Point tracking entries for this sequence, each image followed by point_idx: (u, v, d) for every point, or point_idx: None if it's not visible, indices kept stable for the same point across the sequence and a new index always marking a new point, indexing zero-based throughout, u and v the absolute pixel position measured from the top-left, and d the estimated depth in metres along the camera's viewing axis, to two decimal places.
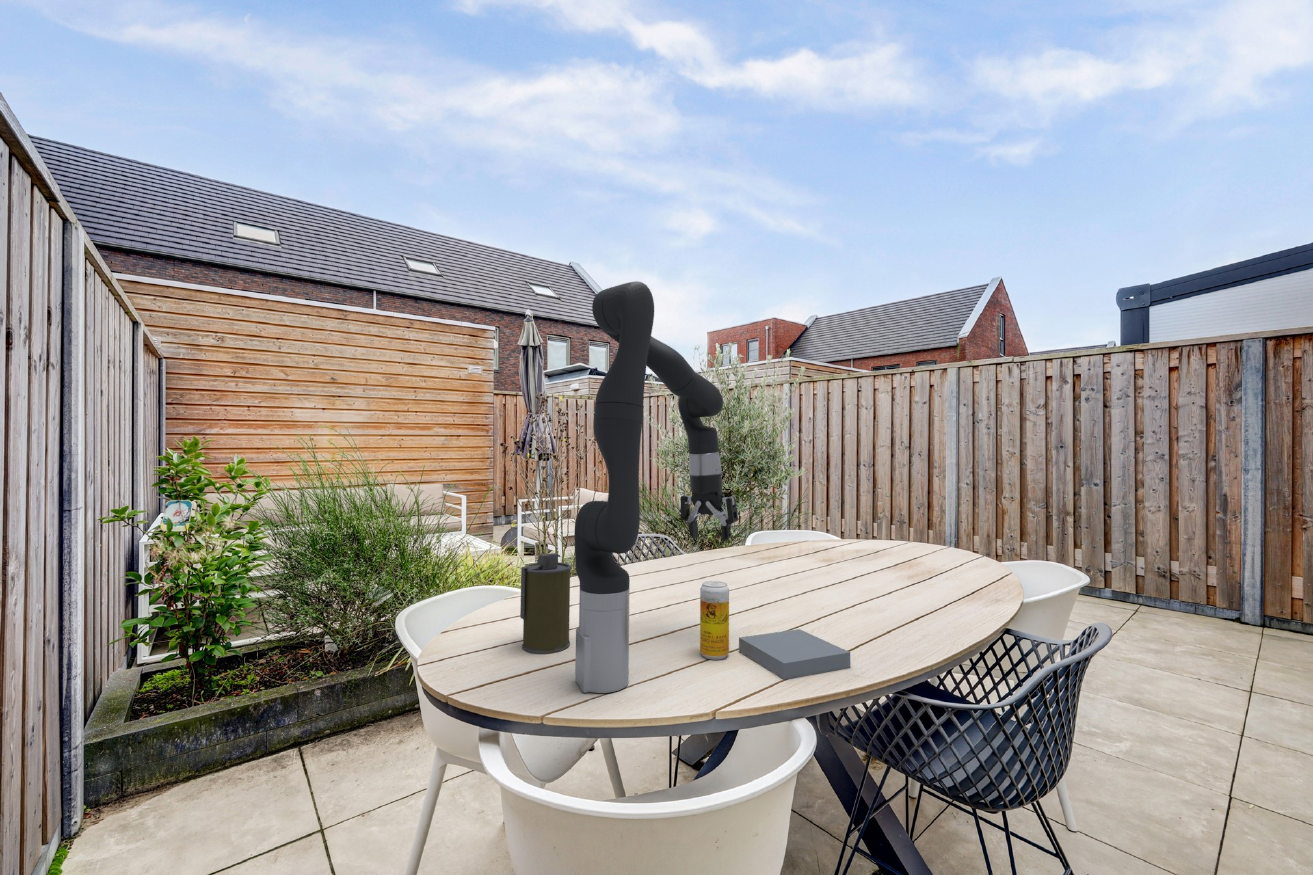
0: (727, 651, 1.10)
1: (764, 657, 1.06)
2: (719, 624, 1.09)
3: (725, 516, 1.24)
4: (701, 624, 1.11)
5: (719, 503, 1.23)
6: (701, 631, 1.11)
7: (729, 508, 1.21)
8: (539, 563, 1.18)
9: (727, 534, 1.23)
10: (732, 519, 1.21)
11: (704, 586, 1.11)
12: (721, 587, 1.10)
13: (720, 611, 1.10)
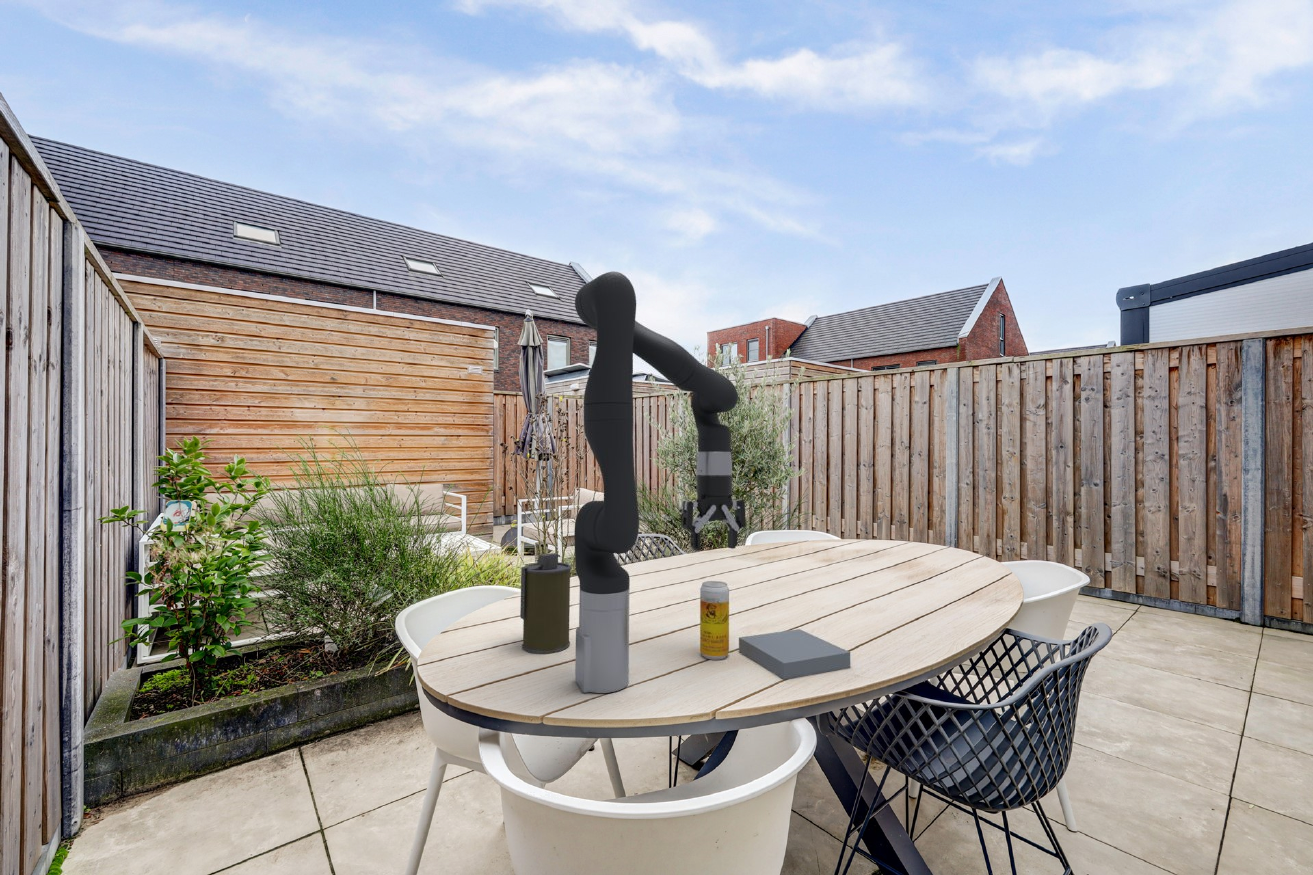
0: (727, 651, 1.10)
1: (764, 657, 1.06)
2: (719, 624, 1.09)
3: None
4: (701, 624, 1.11)
5: (731, 506, 1.14)
6: (701, 631, 1.11)
7: (743, 510, 1.15)
8: (539, 563, 1.18)
9: (736, 540, 1.15)
10: (744, 522, 1.15)
11: (704, 586, 1.11)
12: (721, 587, 1.10)
13: (720, 611, 1.10)
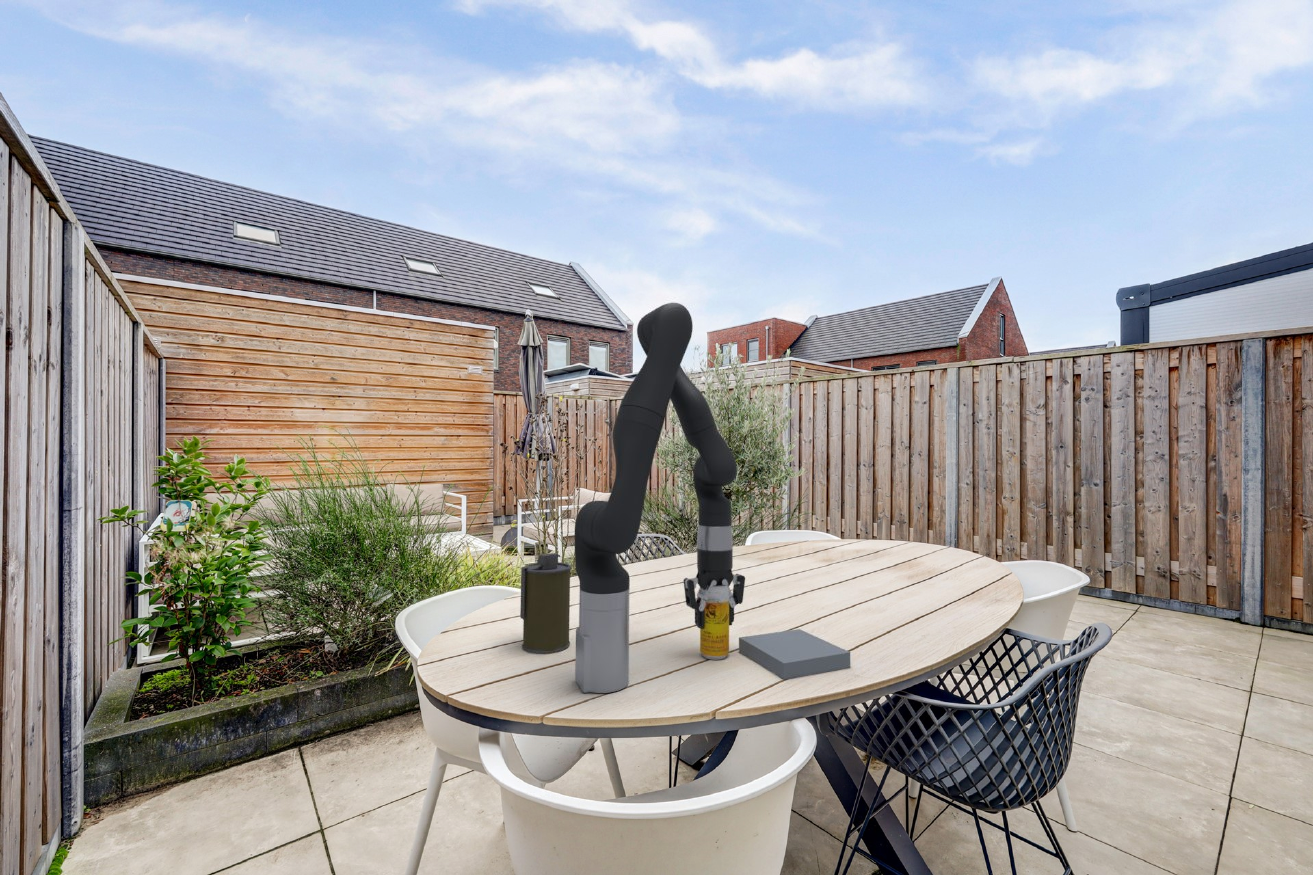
0: (727, 651, 1.10)
1: (764, 657, 1.06)
2: (719, 624, 1.09)
3: None
4: None
5: None
6: (701, 631, 1.11)
7: (742, 586, 1.14)
8: (539, 563, 1.18)
9: (733, 616, 1.13)
10: (741, 599, 1.14)
11: None
12: (721, 587, 1.10)
13: (720, 611, 1.10)
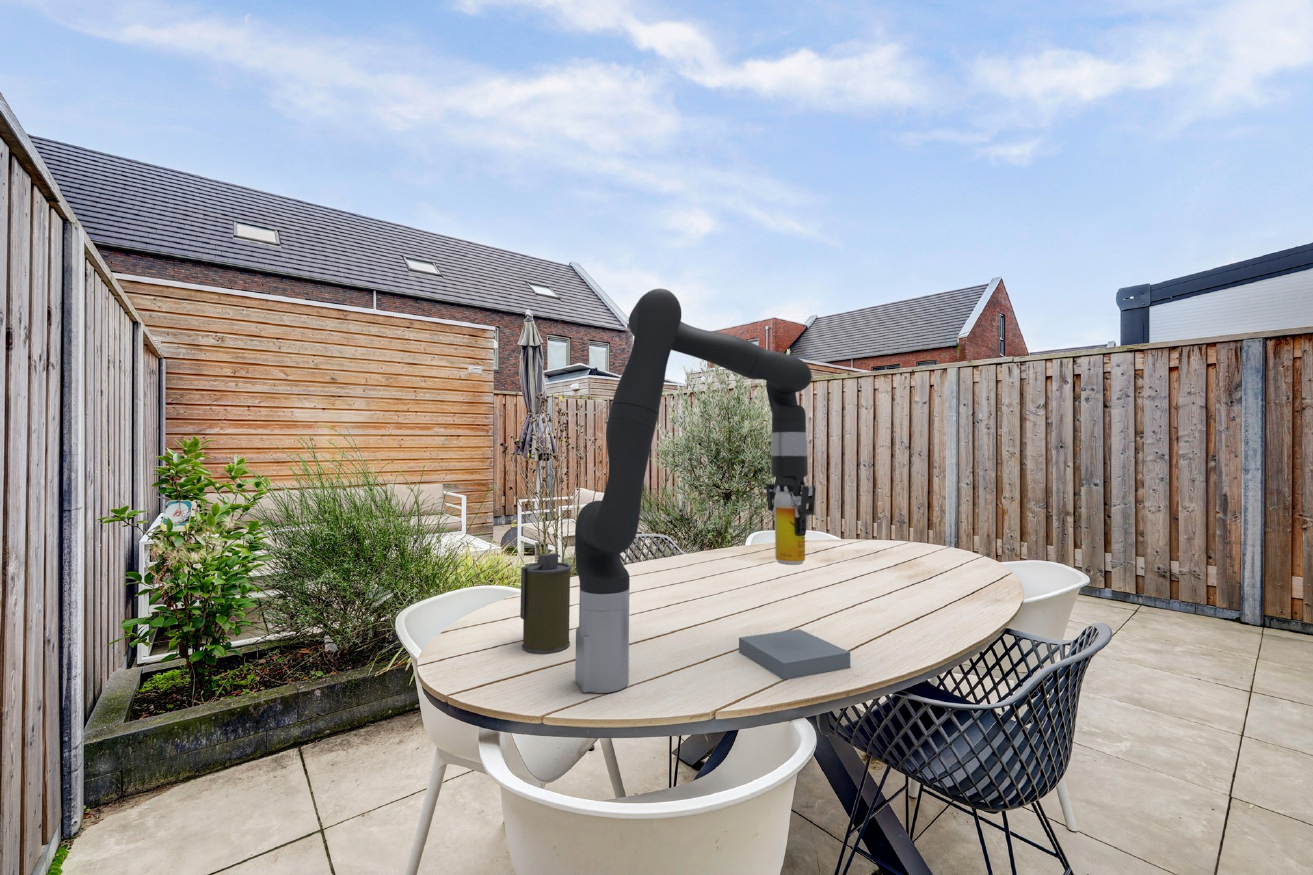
0: None
1: (764, 657, 1.06)
2: None
3: None
4: None
5: None
6: (798, 539, 1.09)
7: None
8: (539, 563, 1.18)
9: None
10: None
11: None
12: None
13: None
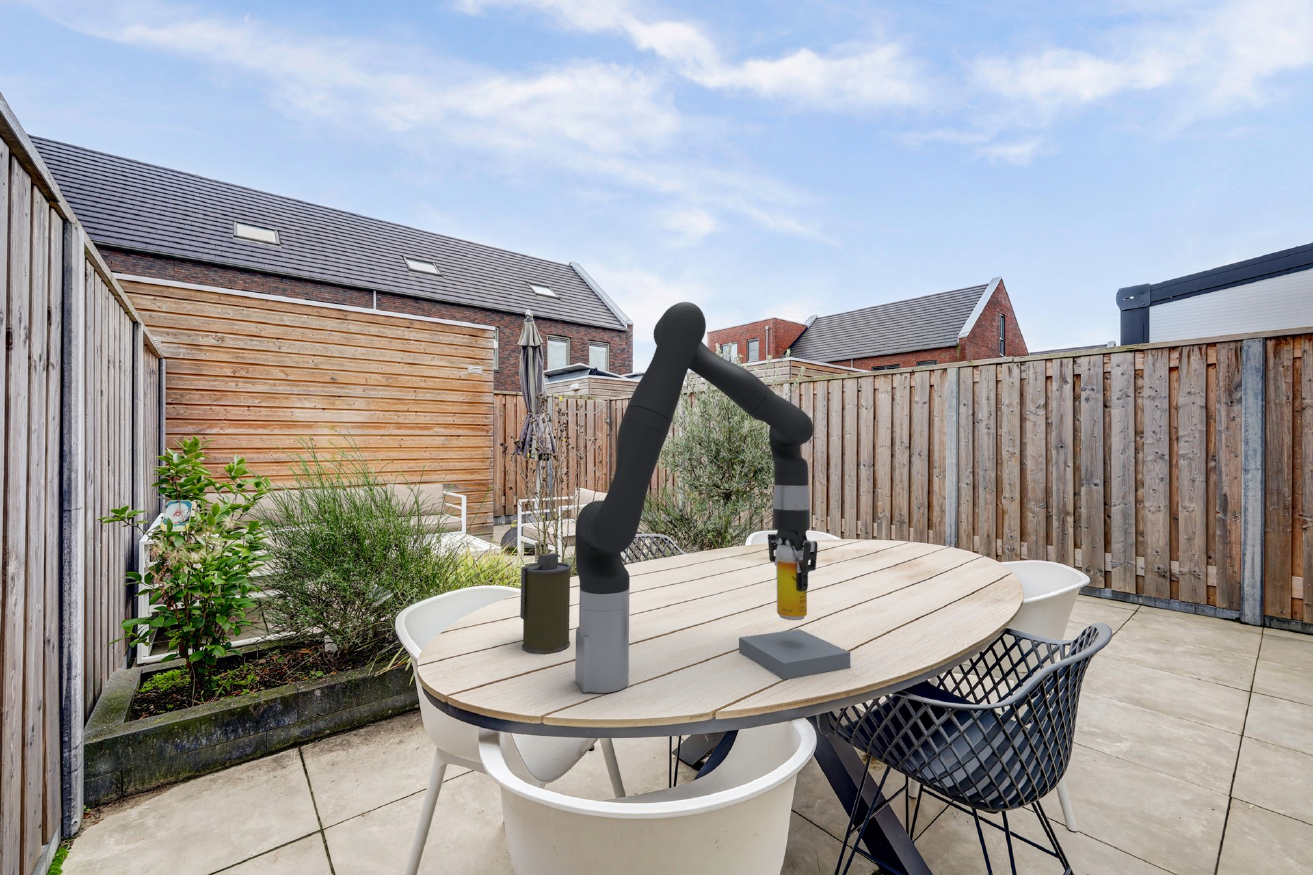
0: None
1: (764, 657, 1.06)
2: None
3: None
4: None
5: None
6: (799, 594, 1.08)
7: None
8: (539, 563, 1.18)
9: None
10: None
11: None
12: None
13: None
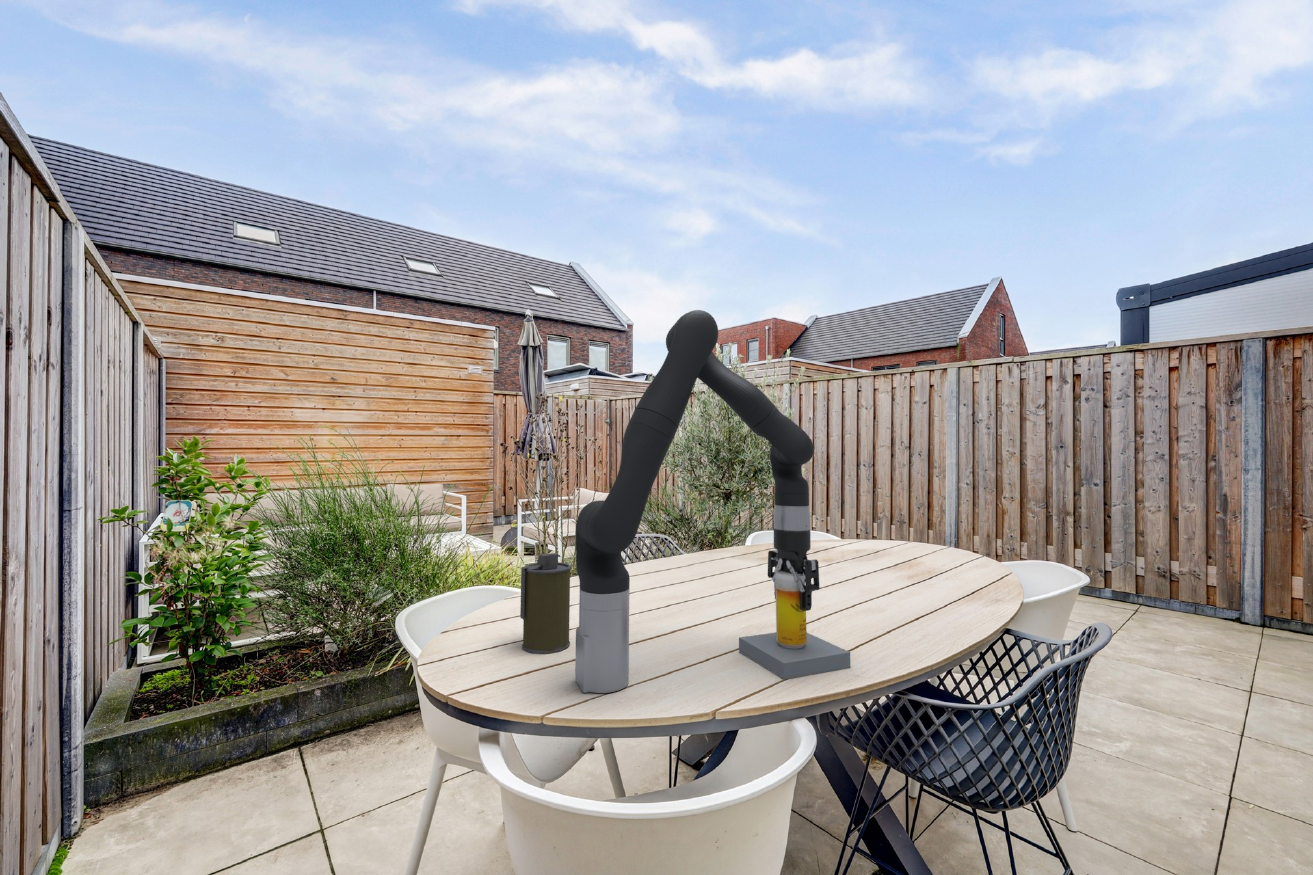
0: None
1: (764, 657, 1.06)
2: None
3: None
4: (799, 615, 1.08)
5: None
6: (799, 623, 1.08)
7: None
8: (539, 563, 1.18)
9: None
10: None
11: (799, 575, 1.08)
12: None
13: None
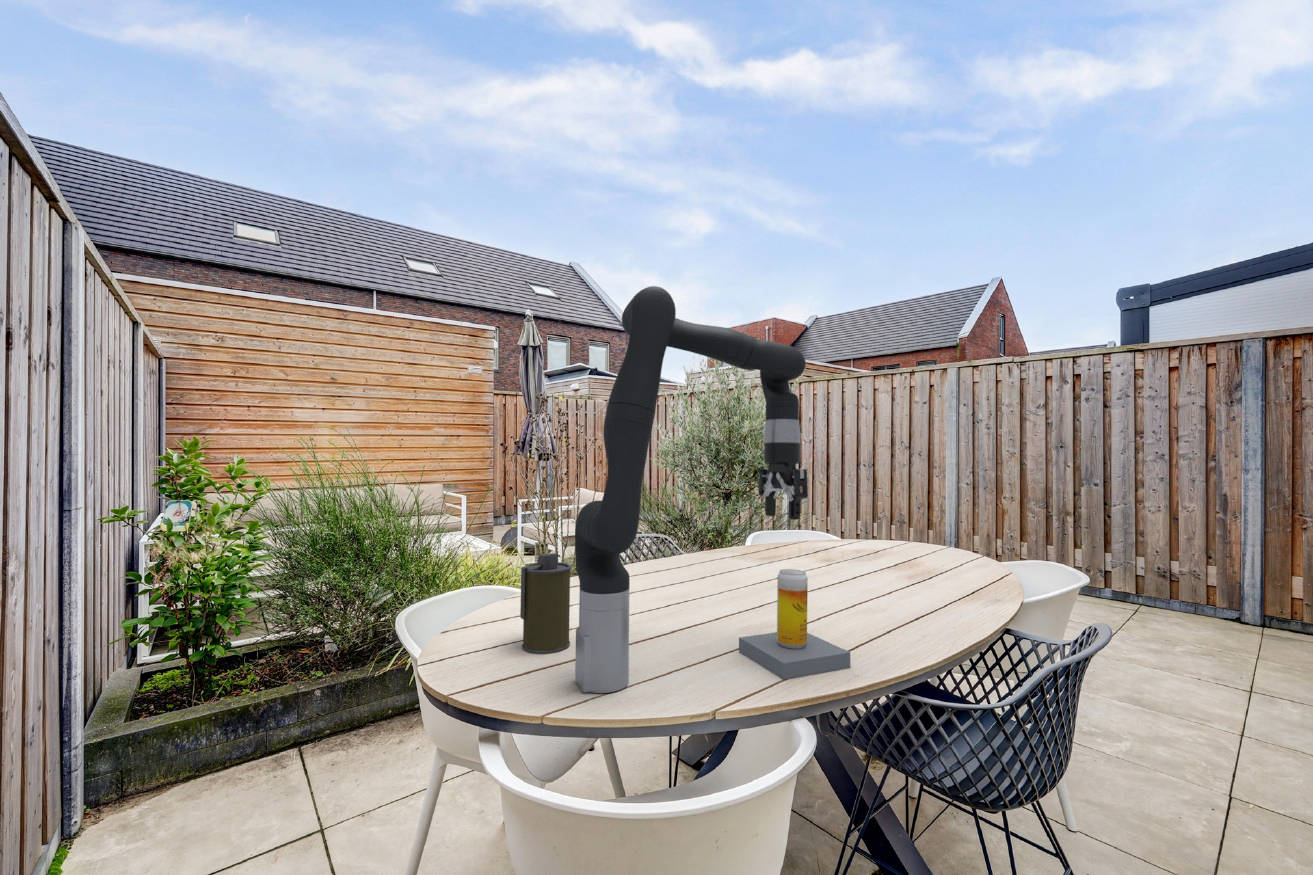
0: None
1: (764, 657, 1.06)
2: None
3: None
4: (800, 615, 1.08)
5: None
6: (800, 623, 1.08)
7: None
8: (539, 563, 1.18)
9: None
10: None
11: (802, 575, 1.09)
12: None
13: None
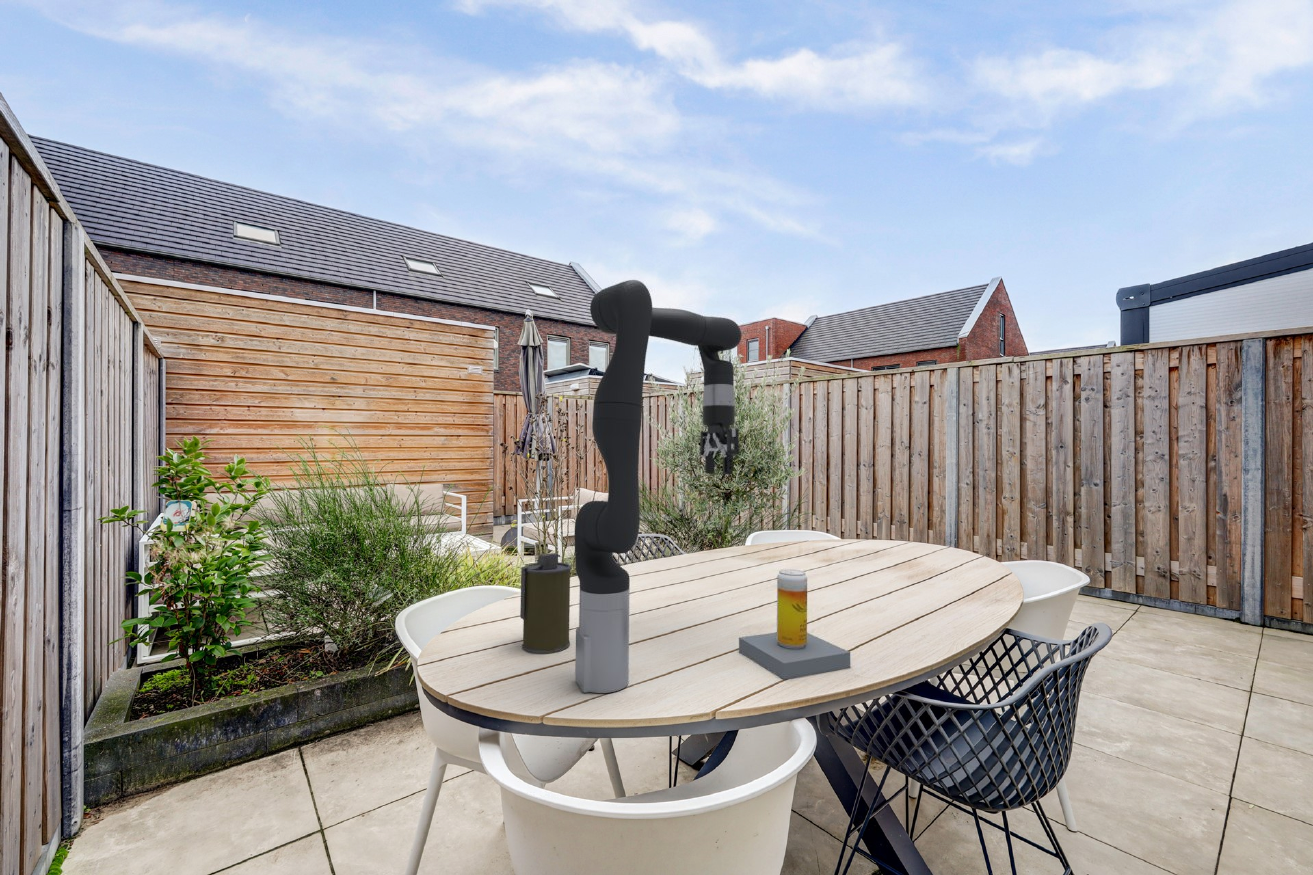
0: None
1: (764, 657, 1.06)
2: None
3: None
4: (799, 616, 1.08)
5: None
6: (799, 623, 1.08)
7: None
8: (539, 563, 1.18)
9: None
10: None
11: (801, 575, 1.08)
12: None
13: None
